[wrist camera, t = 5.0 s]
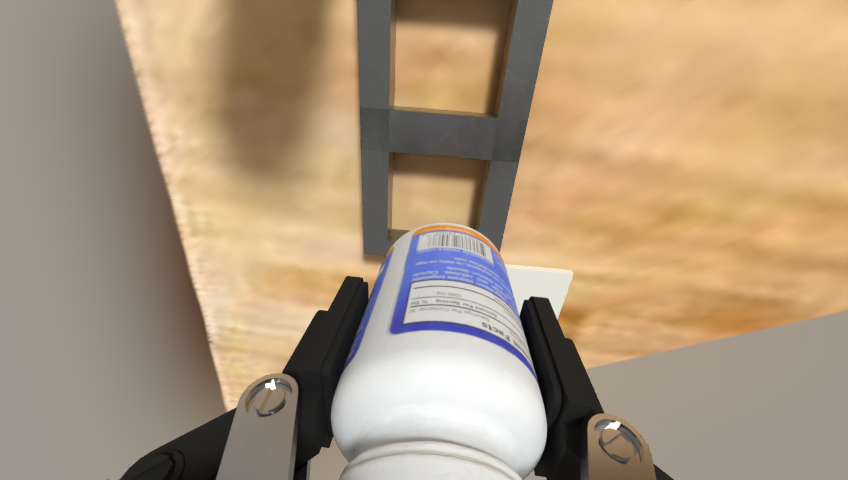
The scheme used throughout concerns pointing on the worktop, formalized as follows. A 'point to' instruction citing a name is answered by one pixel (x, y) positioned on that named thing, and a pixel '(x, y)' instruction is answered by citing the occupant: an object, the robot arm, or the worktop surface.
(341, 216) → the worktop surface
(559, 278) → the tile
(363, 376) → the pill bottle
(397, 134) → the grey double square frame
